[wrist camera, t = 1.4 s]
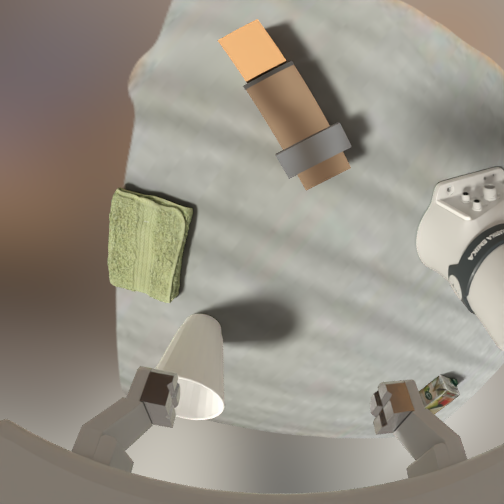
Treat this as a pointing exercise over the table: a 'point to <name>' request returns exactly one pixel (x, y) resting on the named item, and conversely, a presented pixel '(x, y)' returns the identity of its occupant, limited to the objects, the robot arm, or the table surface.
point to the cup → (197, 367)
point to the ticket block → (299, 126)
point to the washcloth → (147, 243)
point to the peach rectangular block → (252, 51)
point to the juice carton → (439, 393)
